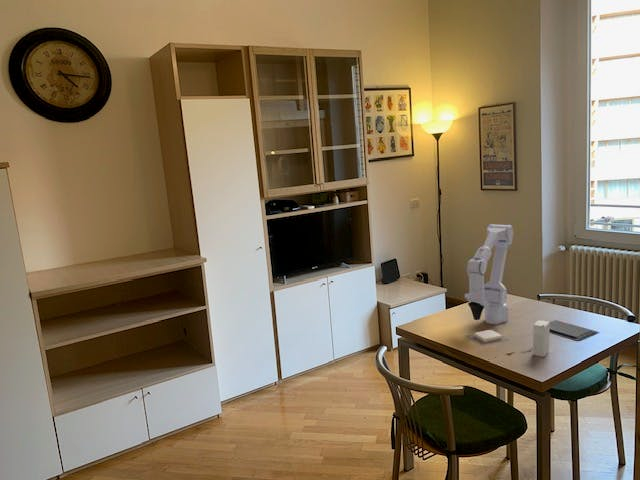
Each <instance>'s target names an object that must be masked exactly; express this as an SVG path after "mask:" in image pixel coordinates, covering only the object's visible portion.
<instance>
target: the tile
mask: <svg viewBox="0 0 640 480" xmlns="http://www.w3.org/2000/svg"><path fill="white" fill-rule="evenodd" d="M473 334H474V337H475V338H477V339H479V340H480V341H482V342H484V343H487V342H492V341H497V340H502V336H503V335H502V334H500V333H499V332H496V331H494V330H492V329H487V330H482V331H476V332H474V333H473Z"/></svg>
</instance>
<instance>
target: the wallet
mask: <svg viewBox="0 0 640 480" xmlns="http://www.w3.org/2000/svg"><path fill="white" fill-rule="evenodd" d="M549 322H550V330H549V334H552V335H556V336H557V337H562V338H565V339H569V340H570V341H571V340H572V341H575V342H581V341H584V340H586V339H588V338H590V337H594V336H595V335H598V334H600V331H597V330H594V329H590V328H586V327H583V326H580V325H575V324H573V323H570V322H569V323H568V322H565V321H562V320H557V319H554V320H552V321H549Z"/></svg>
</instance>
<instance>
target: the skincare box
mask: <svg viewBox="0 0 640 480" xmlns="http://www.w3.org/2000/svg"><path fill="white" fill-rule="evenodd" d="M550 322H551V321H548V320H547V321H546V320H537V321H536V322H535V323H534V324H533V332H532V355H533V356H535V357H536V356H537V357H541V358H542V357H543V358H544V357H545V356H546V355H547V354H548V353H549V350H550V349H549V348H550V333H549V330H550Z"/></svg>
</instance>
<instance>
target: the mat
mask: <svg viewBox="0 0 640 480" xmlns="http://www.w3.org/2000/svg"><path fill="white" fill-rule="evenodd" d="M465 338H468V339H470V340H471V341H473V342H475V343H476V344H478V345H480V346H481V347H484V346H489V345H495V344H499V343H503V342H504V343H505V342H509V341H511V339H509V338H507V337H505V336H503V335H502V340H497V341H492V342H487V343H484V342H482V341H480V340H479V339H477V338H475V337H474V333H471V334H466V335H465Z"/></svg>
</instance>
